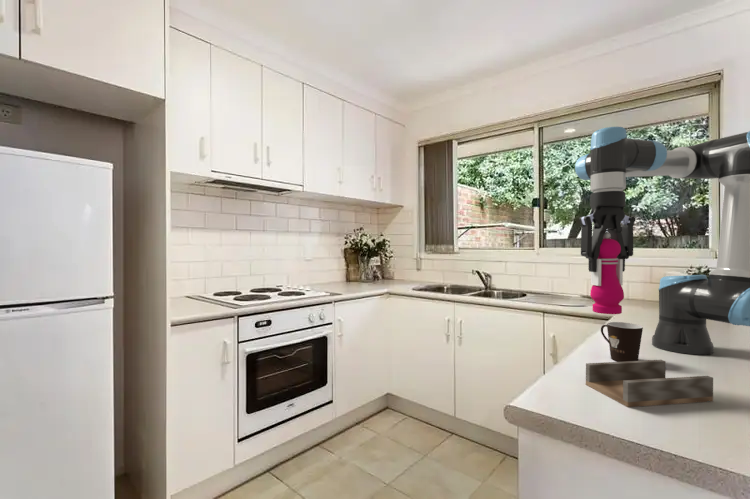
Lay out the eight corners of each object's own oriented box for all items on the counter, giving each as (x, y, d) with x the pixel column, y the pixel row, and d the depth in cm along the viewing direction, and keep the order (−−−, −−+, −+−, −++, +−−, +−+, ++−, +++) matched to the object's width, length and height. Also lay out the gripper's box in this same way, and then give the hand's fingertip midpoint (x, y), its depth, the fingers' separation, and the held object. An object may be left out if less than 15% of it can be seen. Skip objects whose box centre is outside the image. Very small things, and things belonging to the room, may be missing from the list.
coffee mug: (648, 365, 103) (649, 329, 103) (613, 363, 105) (614, 327, 104) (629, 353, 114) (629, 320, 114) (597, 352, 116) (598, 319, 116)
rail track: (660, 380, 92) (661, 359, 92) (712, 401, 80) (713, 377, 80) (585, 384, 90) (585, 363, 89) (627, 407, 77) (627, 382, 77)
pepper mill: (595, 308, 100) (595, 232, 100) (627, 311, 95) (627, 231, 95) (586, 312, 95) (585, 232, 95) (619, 316, 90) (619, 231, 90)
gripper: (629, 194, 99) (627, 283, 100) (564, 193, 97) (563, 283, 98) (653, 190, 92) (651, 286, 92) (583, 189, 90) (582, 287, 90)
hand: (606, 284), depth 95 cm, fingers closed on pepper mill, 5 cm apart
